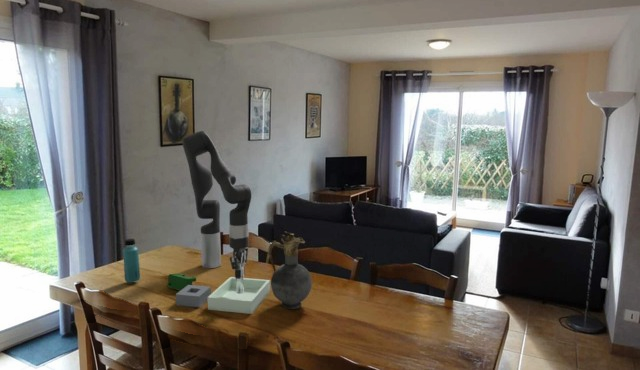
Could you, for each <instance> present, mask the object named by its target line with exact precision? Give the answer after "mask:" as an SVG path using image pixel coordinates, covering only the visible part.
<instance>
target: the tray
mask: <svg viewBox="0 0 640 370" xmlns="http://www.w3.org/2000/svg"><path fill="white" fill-rule="evenodd" d="M270 292H271V279H262V278H261V279H260V278H247V277H244V293H241V294H238V293H236V278H235V276H230V277H229V278H228V279H226V280H225V281H224V282H223V283H221V285H220V286H218V287H217V288H216V289H214V290H213V292H211V295H209V296H208V300H207V310H208V311H209V310H210V311H220V312H228V313H229V312H231V313H238V314H239V313H240V314H249V315H253V314H254V312H255V311H256V310H257V309H258V307H259V306H260V305H261V303H263V301H264V300H265V298H266V297H268V295H269V294H270Z"/></svg>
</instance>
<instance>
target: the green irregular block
mask: <svg viewBox="0 0 640 370" xmlns="http://www.w3.org/2000/svg"><path fill="white" fill-rule="evenodd" d="M196 281H197V277H194V276H186V274H184V273H180V272H179V273H169V274H168V278H167V287H168V288H169V289H173V290H177V291H181V290H182V289H183V288H185V287H186V286H187V285H193V283H194V282H196Z"/></svg>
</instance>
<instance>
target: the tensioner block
mask: <svg viewBox="0 0 640 370" xmlns="http://www.w3.org/2000/svg"><path fill="white" fill-rule="evenodd" d="M211 294H212V286H205V285H197V284H196V285H195V284H194V285H193V284H192V285H187V286H186V287H185V288H183V289H182V290H181V291H180V290H178V292H177V293H175V305H176V306H182V307H192V308H201V307H202V306H203V305H204V304H205V303H206V302H208V296H209V295H211Z"/></svg>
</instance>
